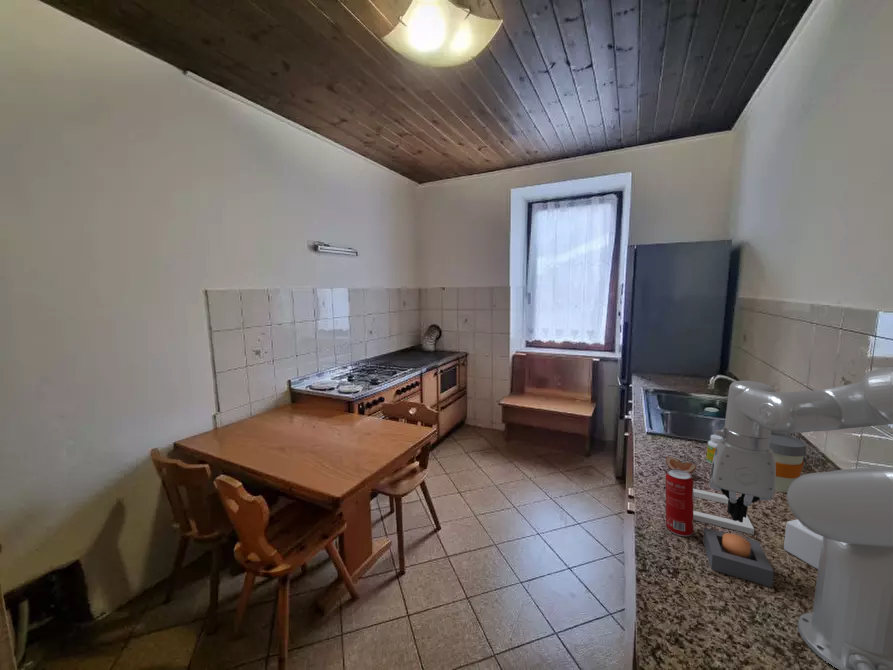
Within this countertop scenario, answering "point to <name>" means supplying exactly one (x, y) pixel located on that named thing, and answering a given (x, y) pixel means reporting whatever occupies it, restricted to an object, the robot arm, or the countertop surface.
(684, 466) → the fruit slice
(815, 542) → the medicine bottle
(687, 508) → the beverage can
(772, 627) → the countertop surface
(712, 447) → the supplement bottle
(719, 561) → the grey square holder
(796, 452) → the reusable coffee cup
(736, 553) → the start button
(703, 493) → the white picture frame
